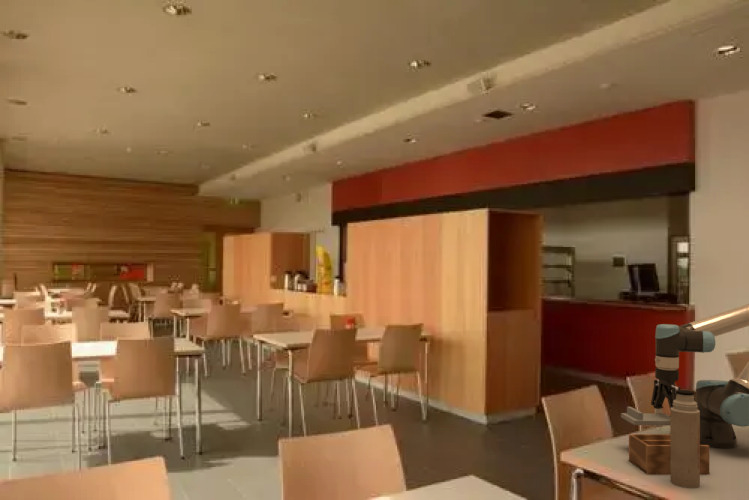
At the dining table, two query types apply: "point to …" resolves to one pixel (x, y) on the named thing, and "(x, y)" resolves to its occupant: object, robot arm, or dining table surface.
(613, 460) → the dining table surface
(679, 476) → the thermos bottle
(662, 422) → the slate lid
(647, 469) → the walnut box
